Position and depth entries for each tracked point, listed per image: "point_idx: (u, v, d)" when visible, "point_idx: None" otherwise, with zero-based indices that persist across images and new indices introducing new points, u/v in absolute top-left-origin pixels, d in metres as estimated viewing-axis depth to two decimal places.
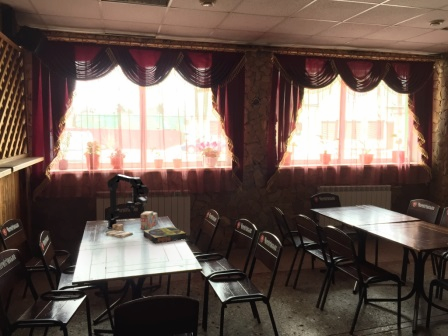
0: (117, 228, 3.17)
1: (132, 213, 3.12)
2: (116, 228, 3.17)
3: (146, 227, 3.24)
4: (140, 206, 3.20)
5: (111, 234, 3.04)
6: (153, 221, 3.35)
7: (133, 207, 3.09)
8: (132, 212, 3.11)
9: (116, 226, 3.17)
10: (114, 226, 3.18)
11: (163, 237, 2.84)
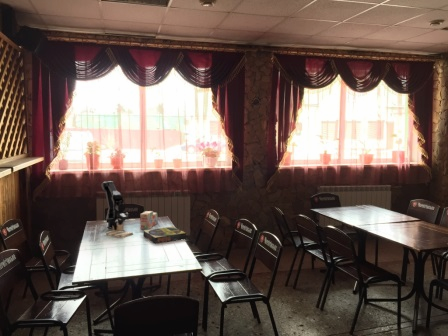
0: (117, 228, 3.17)
1: (115, 229, 3.17)
2: None
3: (146, 227, 3.25)
4: (119, 222, 3.22)
5: (111, 234, 3.04)
6: (153, 221, 3.36)
7: (116, 223, 3.15)
8: (115, 228, 3.17)
9: None
10: None
11: (163, 237, 2.84)
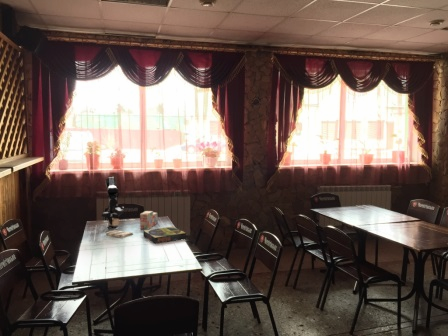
0: (113, 222, 3.06)
1: (110, 223, 3.07)
2: (112, 222, 3.07)
3: (145, 227, 3.25)
4: (115, 217, 3.11)
5: (111, 234, 3.04)
6: (153, 221, 3.36)
7: (111, 217, 3.04)
8: (110, 222, 3.06)
9: (112, 221, 3.07)
10: None
11: (163, 237, 2.84)
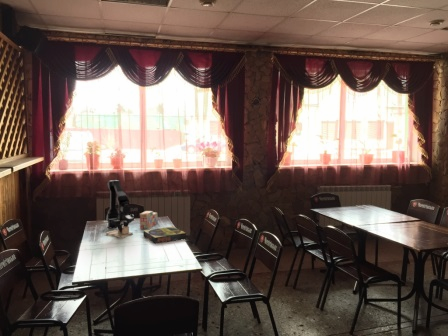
0: (122, 230, 3.02)
1: (120, 231, 3.02)
2: None
3: (145, 227, 3.25)
4: (125, 225, 3.07)
5: (111, 234, 3.04)
6: (153, 221, 3.36)
7: (121, 225, 3.00)
8: (120, 230, 3.02)
9: (122, 229, 3.02)
10: None
11: (163, 237, 2.84)
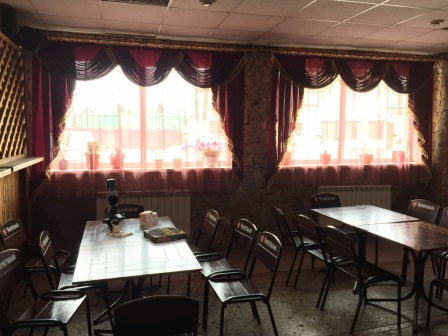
0: (113, 229, 3.06)
1: (111, 230, 3.07)
2: None
3: (145, 227, 3.26)
4: (115, 223, 3.12)
5: (111, 234, 3.04)
6: (153, 221, 3.37)
7: (112, 224, 3.05)
8: (111, 229, 3.07)
9: (113, 227, 3.07)
10: None
11: (163, 237, 2.84)
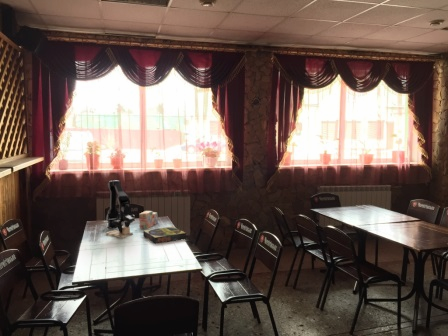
0: (123, 231, 3.01)
1: (120, 232, 3.01)
2: (122, 231, 3.02)
3: (145, 226, 3.26)
4: (126, 225, 3.07)
5: (111, 234, 3.04)
6: (152, 221, 3.37)
7: (121, 225, 2.99)
8: (120, 230, 3.01)
9: (123, 229, 3.02)
10: None
11: (163, 237, 2.84)
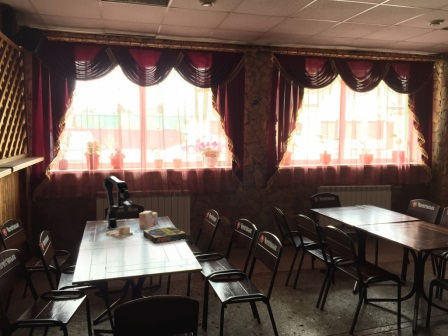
0: (123, 231, 3.01)
1: (116, 217, 3.11)
2: (122, 231, 3.02)
3: (144, 226, 3.26)
4: (125, 210, 3.19)
5: (111, 234, 3.04)
6: (152, 221, 3.37)
7: (117, 211, 3.08)
8: (116, 216, 3.11)
9: (123, 229, 3.02)
10: (120, 229, 3.03)
11: (163, 237, 2.84)
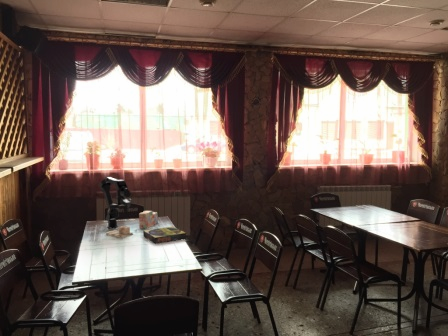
0: (123, 231, 3.01)
1: (116, 215, 3.15)
2: (122, 231, 3.02)
3: (144, 226, 3.27)
4: (124, 208, 3.24)
5: (111, 234, 3.04)
6: (152, 220, 3.37)
7: (117, 209, 3.13)
8: (116, 214, 3.15)
9: (123, 229, 3.02)
10: (120, 229, 3.03)
11: (163, 237, 2.84)
